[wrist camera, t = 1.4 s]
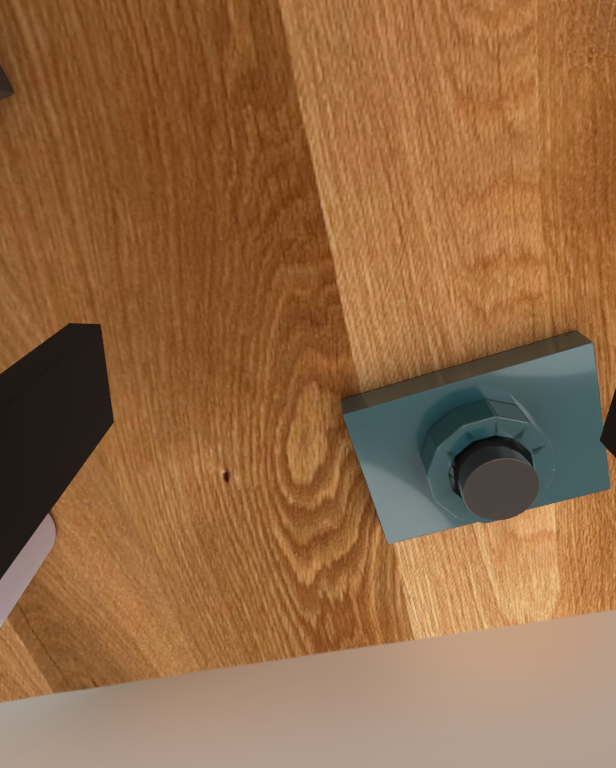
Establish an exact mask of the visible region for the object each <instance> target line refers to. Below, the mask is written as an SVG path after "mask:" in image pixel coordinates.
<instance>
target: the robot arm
mask: <svg viewBox="0 0 616 768" xmlns="http://www.w3.org/2000/svg"><path fill="white" fill-rule="evenodd" d="M113 423H114V421H113V413H112V406H111V398H110V391H109V383H108V376H107V369H106V361H105V354H104V346H103V339H102V331H101V324H77V323H69V324H68V325H66V326H65V327H64V328H62V329H61V330H60V331H58V332H57V333H56V334H54V335H53V336H51V337H50V338H49V339H47V340H46V341H45V342H43V343H42V344H41V345H39V346H38V347H37V348H35V349H34V350H32V351H31V352H30V353H28V354H27V355H26V356H24V357H23V358H22V359H20V360H19V361H17V362H16V363H15V364H13V365H12V366H11V367H9V368H8V369H7V370H5V371H4V372H3V373H1V374H0V580H1V578H2V577H3V576H4V574H5V573H6V571H7V570H8V569H9V567H10V566H11V564H12V563H13V562H14V560H15V559H16V558H17V556H18V555H19V553H20V552H21V551H22V549H23V548H24V546H25V545H26V544H27V542H28V541H29V539H30V538H31V537H32V535H33V534H34V532H35V531H36V530H37V528H38V527H39V526H40V524H41V523H42V521H43V520H44V519H45V517H46V516H47V514H48V513H49V512H50V510H51V509H52V507H53V506H54V505H55V503H56V502H57V500H58V499H59V498H60V496H61V495H62V494H63V492H64V491H65V489H66V488H67V487H68V485H69V484H70V482H71V481H72V480H73V478H74V477H75V475H76V474H77V473H78V471H79V470H80V468H81V467H82V466H83V464H84V463H85V462H86V460H87V459H88V457H89V456H90V455H91V453H92V452H93V450H94V449H95V448H96V446H97V445H98V443H99V442H100V441H101V439H102V438H103V436H104V435H105V434H106V432H107V431H108V429H109V428H110V427H111V425H112V424H113ZM599 441H600V442H601V443H602V444H603V445H604V446H605V447H606V448H607V449H608V450H609V451H610V452H611V453H612V454H613V455H614V456H615V457H616V389H615V392H614V396H613V399H612V402H611V405H610V408H609V412H608V415H607V418H606V421H605V424H604V428H603V431H602V434H601V437H600V440H599Z"/></svg>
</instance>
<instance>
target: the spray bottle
mask: <svg viewBox="0 0 616 768" xmlns="http://www.w3.org/2000/svg"><path fill="white" fill-rule="evenodd" d="M55 538H56V529H55V524H54V521H53V519H52V517H51V516H50V514H49V513H48V514H47V516H46V517H45V519H44V520H43V521H42V523H41V524H40V526H39V527H38V528H37V530H36V531H35V532H34V534H33V535H32V537H31V538H30V539H29V541H28V542H27V544H26V545H25V546H24V548H23V549H22V551H21V552H20V553H19V555H18V556H17V558H16V559H15V560H14V562H13V563H12V564H11V566H10V567H9V569H8V570H7V571H6V573H5V574H4V576H3V577H2V578H1V580H0V627H1V626H2V624H3V623H4V621H5V620H6V618H7V617H8V615H9V614H10V612H11V610H12V609H13V607H14V606H15V604H16V603H17V601H18V600H19V598H20V597H21V595H22V593H23V592H24V590H25V589H26V587H27V586H28V584H29V583H30V581H31V580H32V578H33V577H34V575H35V573H36V572H37V570H38V569H39V567H40V566H41V564H42V563H43V561H44V560H45V558H46V556H47V555H48V553H49V552H50V550H51V549H52V547H53V545H54V542H55Z"/></svg>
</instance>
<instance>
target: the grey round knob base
mask: <svg viewBox="0 0 616 768" xmlns="http://www.w3.org/2000/svg"><path fill="white" fill-rule="evenodd" d="M341 404H342V414H343V418H344V421H345V423H346V426H347V429H348V432H349V435H350V438H351V441H352V443H353V446H354V449H355V452H356V455H357V458H358V461H359V464H360V466H361V469H362V472H363V475H364V478H365V481H366V484H367V487H368V489H369V492H370V495H371V498H372V501H373V504H374V507H375V509H376V512H377V515H378V518H379V521H380V524H381V527H382V530H383V532H384V535H385V538H386V541H387V544H392V543H396V542H400V541H404V540H408V539H412V538H416V537H420V536H424V535H428V534H432V533H436V532H440V531H444V530H448V529H452V528H456V527H460V526H464V525H468V524H472V523H476V522H481V523H490V522H494V521H498V520H487V519H483V518H480V517H478V516H476V515H474V514H473V513H472V512H471V511H470V510H469V509H468V508H467V507H466V505H465V503H464V501H463V499H462V496H461V494H460V491H459V489H458V487H457V484H456V482H455V479H454V465H455V462H456V460H457V458H458V457H459V455H460V454H461V453H462V451H463V450H465V449H466V448H467V447H468V446H470V445H471V444H473V443H475V442H477V441H480V440H483V439H489V438H500V439H505V440H508V441H510V442H512V443H514V444H515V445H517V446H518V447H519V448H520V449H521V451H522V452H523V454H524V455H525V457H526V458H527V460H528V461H529V462H530V464H531V465H532V467H533V468H534V470H535V471H536V473H537V475H538V478H539V491H538V495H537V497H536V499H535V501H534V502H533V503H532V505H531V506H530V507H529V508H528V509H532V508H536V507H540V506H544V505H548V504H552V503H556V502H560V501H564V500H568V499H572V498H576V497H580V496H584V495H588V494H592V493H596V492H600V491H604V490H608V489H610V480H609V471H608V463H607V454H606V447H605V446H604V445H603V444H602V443H601V442H600V441H599V440H600V437H601V434H602V431H603V420H602V411H601V403H600V394H599V386H598V377H597V369H596V360H595V352H594V343H593V342H592V341H591V340H589V339H588V338H587V337H585V336H584V335H582V334H581V333H580V332H578V331H573V332H570V333H566V334H563V335H559V336H556V337H553V338H549V339H546V340H542V341H539V342H536V343H532V344H529V345H525V346H522V347H519V348H515V349H512V350H508V351H505V352H502V353H498V354H495V355H491V356H488V357H485V358H481V359H478V360H474V361H471V362H468V363H464V364H461V365H457V366H454V367H451V368H447V369H444V370H440V371H437V372H433V373H430V374H427V375H423V376H420V377H416V378H413V379H410V380H406V381H403V382H399V383H396V384H393V385H389V386H386V387H382V388H379V389H376V390H372V391H369V392H365V393H362V394H359V395H355V396H352V397H348V398H345V399H342V400H341ZM528 509H526V510H528Z"/></svg>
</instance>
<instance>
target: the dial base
mask: <svg viewBox="0 0 616 768" xmlns="http://www.w3.org/2000/svg"><path fill="white" fill-rule="evenodd" d="M12 94H13V90H12V88H11V86H10V84H9V82H8V80H7V78H6V76H5V74H4V72H3V70H2V68H1V66H0V99H2V98H5V97H7V96H9V95H12Z"/></svg>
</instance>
